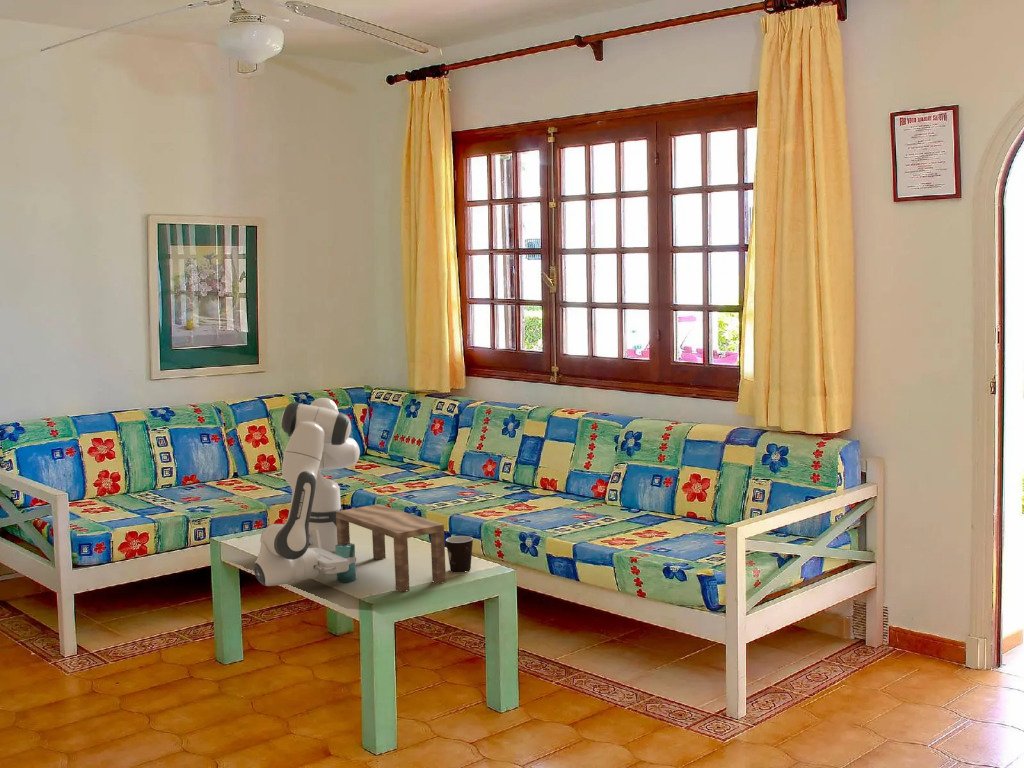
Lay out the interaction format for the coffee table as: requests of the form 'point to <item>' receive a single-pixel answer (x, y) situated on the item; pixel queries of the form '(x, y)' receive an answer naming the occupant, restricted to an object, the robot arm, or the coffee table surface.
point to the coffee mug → (459, 553)
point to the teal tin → (350, 575)
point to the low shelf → (395, 537)
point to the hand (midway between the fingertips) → (348, 556)
